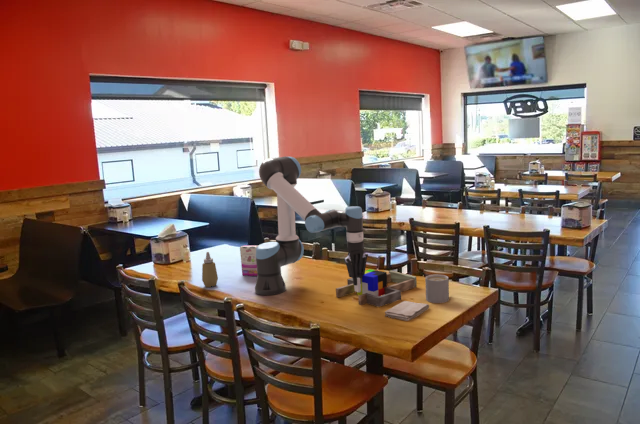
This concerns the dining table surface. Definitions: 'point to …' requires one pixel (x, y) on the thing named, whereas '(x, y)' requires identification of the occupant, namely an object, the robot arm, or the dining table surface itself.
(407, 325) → the dining table surface
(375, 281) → the puzzle toy
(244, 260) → the candy bar box
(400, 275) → the trap lane
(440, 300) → the coffee mug
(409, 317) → the washcloth
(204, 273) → the squeeze bottle
